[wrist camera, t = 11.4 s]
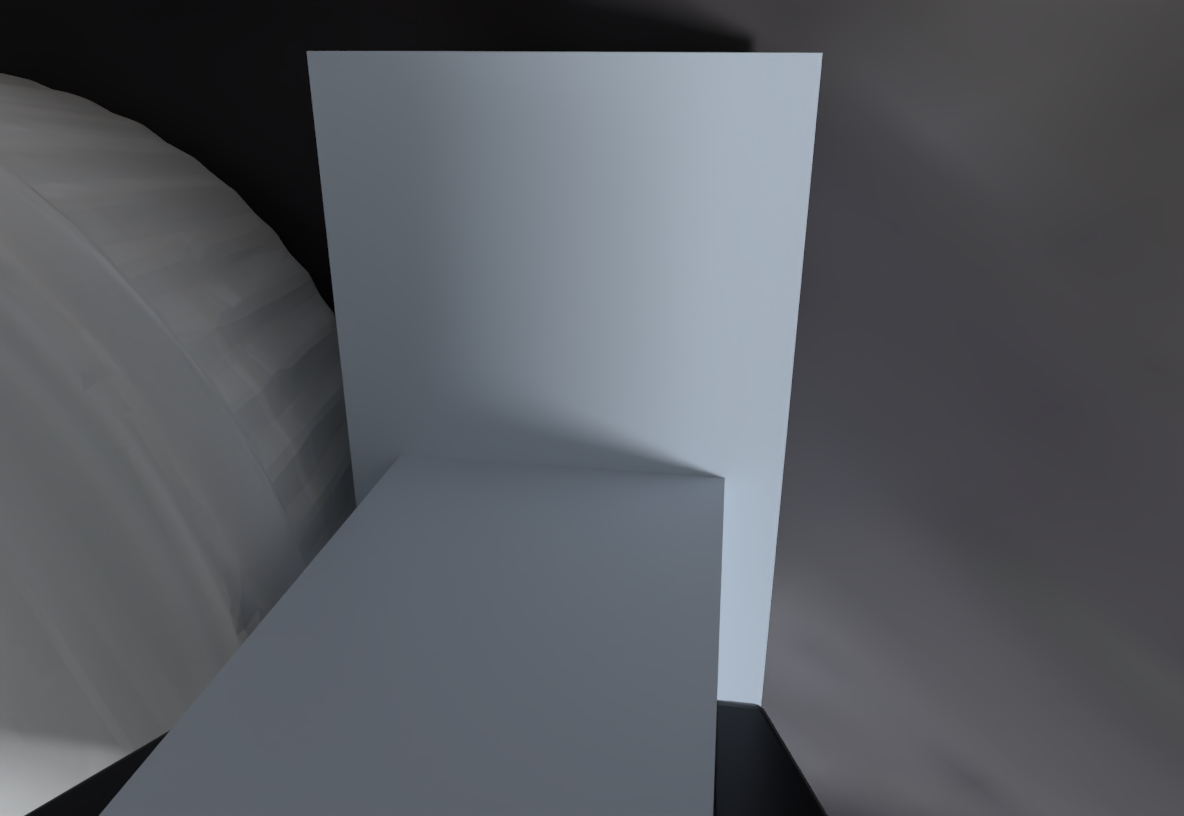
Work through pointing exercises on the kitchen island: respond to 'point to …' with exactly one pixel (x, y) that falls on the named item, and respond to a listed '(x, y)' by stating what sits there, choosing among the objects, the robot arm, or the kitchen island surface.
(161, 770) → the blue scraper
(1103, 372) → the kitchen island surface
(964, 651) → the kitchen island surface
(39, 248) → the ramekin
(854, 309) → the kitchen island surface
